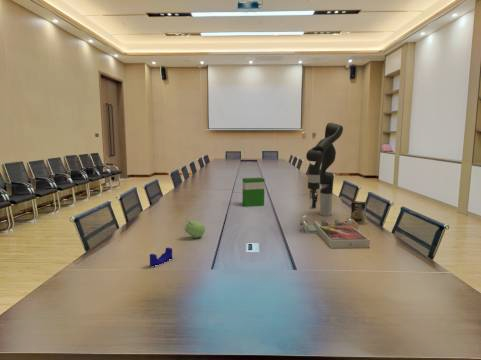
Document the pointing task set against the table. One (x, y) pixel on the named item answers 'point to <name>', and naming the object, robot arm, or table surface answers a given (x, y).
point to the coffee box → (358, 212)
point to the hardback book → (253, 192)
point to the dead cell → (349, 220)
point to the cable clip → (161, 257)
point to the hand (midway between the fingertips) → (313, 207)
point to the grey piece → (325, 223)
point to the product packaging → (343, 237)
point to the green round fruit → (195, 229)
